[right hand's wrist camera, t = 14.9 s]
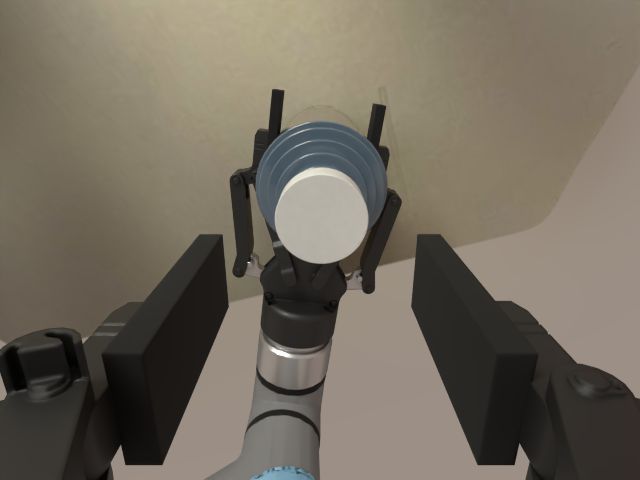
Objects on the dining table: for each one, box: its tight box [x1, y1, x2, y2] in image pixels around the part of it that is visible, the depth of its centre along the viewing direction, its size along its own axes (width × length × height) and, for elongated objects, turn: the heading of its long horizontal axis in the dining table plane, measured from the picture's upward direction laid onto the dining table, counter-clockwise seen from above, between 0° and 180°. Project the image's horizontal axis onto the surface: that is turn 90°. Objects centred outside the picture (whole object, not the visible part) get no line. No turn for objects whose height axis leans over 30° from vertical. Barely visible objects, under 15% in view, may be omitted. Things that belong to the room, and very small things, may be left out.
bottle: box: [256, 106, 387, 233], centre depth 30 cm, size 8×8×25 cm
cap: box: [275, 168, 368, 264], centre depth 19 cm, size 4×4×2 cm
